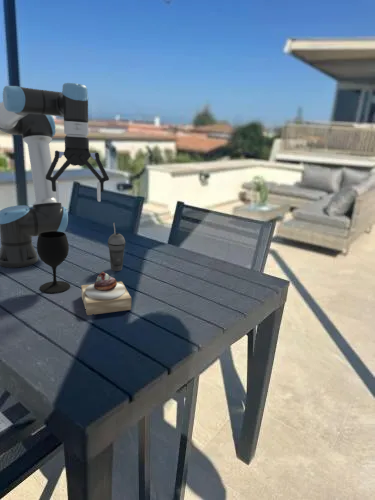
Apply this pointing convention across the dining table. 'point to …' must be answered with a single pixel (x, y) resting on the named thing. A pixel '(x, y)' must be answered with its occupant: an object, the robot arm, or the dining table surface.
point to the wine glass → (53, 257)
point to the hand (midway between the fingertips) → (78, 201)
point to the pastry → (105, 282)
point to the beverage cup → (116, 250)
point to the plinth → (105, 299)
